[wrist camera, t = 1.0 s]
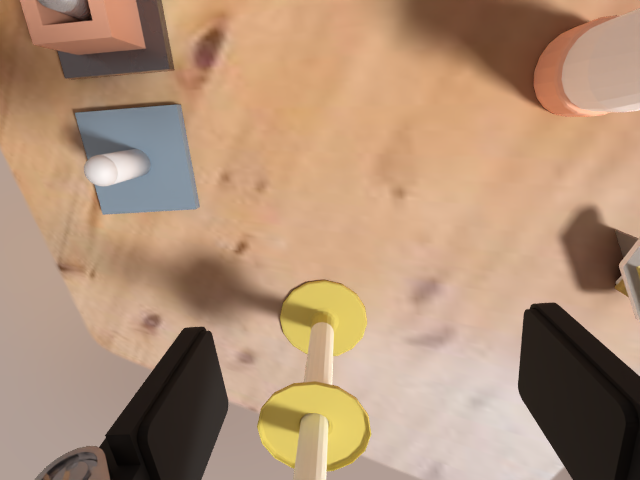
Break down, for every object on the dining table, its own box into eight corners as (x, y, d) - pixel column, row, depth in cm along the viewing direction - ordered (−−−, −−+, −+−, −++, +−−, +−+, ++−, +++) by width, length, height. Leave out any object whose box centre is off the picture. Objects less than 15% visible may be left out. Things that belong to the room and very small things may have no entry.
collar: (55, -30, 30) (3, -56, 26) (128, -38, 30) (88, -66, 25) (77, 55, 32) (33, 44, 28) (145, 48, 32) (112, 37, 27)
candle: (266, 295, 41) (35, 853, 10) (350, 268, 39) (384, 837, 8) (299, 365, 43) (200, 964, 13) (378, 342, 42) (482, 969, 11)
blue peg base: (81, 112, 35) (12, 112, 28) (180, 104, 34) (137, 102, 27) (108, 212, 38) (53, 235, 31) (199, 206, 38) (165, 229, 30)
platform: (580, 350, 41) (623, 392, 35) (529, 216, 36) (567, 237, 30) (694, 308, 39) (761, 345, 33) (654, 159, 34) (724, 169, 28)
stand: (38, -48, 31) (-45, -92, 24) (150, -61, 30) (96, -110, 23) (72, 79, 34) (8, 70, 27) (174, 70, 33) (133, 59, 27)
